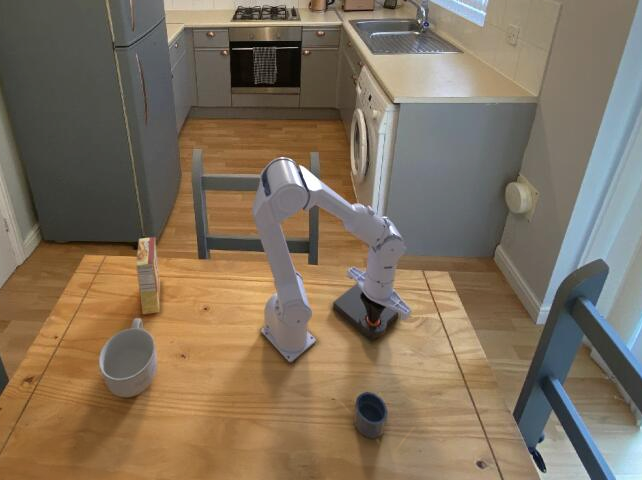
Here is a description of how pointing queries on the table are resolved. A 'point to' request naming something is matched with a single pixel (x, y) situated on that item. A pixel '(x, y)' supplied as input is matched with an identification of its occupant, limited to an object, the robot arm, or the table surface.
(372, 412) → the cup
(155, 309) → the candy box
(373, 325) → the tare button
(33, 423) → the table surface
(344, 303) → the scale
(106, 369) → the teacup
